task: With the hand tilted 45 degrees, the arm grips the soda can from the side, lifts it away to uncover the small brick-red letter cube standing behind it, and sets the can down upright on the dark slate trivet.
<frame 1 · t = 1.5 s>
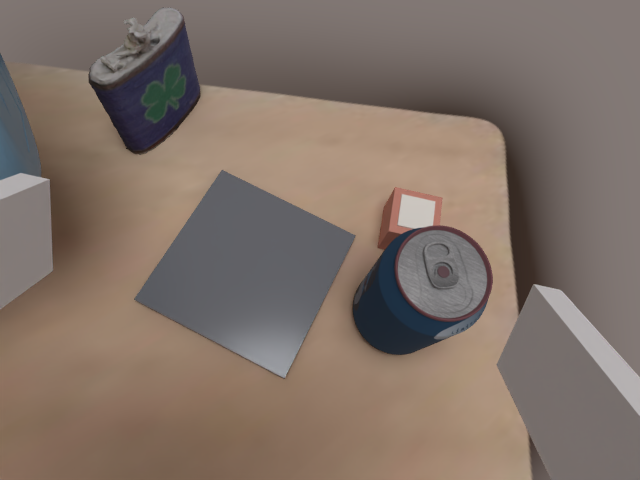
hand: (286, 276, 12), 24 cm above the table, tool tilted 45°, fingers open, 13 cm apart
flask: (166, 120, 41), on the table
soda can: (390, 313, 37), on the table
slate trivet: (251, 268, 36), on the table
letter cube: (402, 232, 39), on the table
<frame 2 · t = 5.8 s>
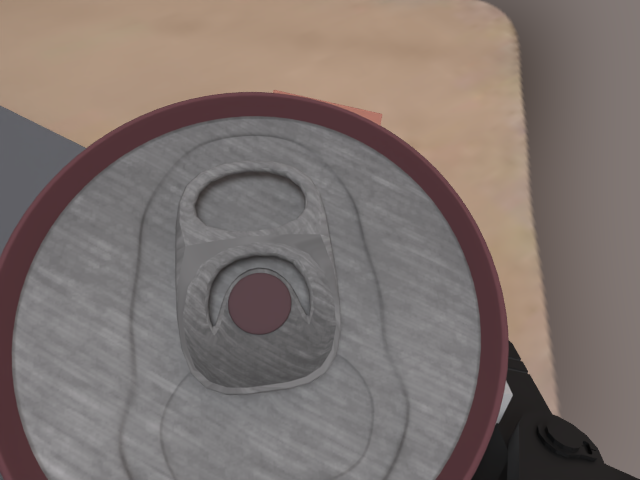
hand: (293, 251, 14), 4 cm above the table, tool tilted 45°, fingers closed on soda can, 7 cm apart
soda can: (267, 378, 16), on the table, touching gripper
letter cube: (308, 199, 19), on the table
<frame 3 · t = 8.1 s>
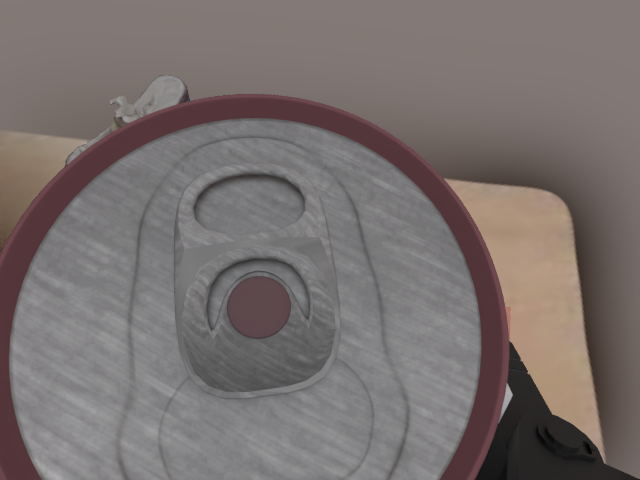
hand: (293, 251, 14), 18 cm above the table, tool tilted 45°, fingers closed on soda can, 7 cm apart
flask: (165, 198, 34), on the table
soda can: (267, 379, 16), point 14 cm above the table, touching gripper
when the fingers open (6 cm above the table, at t = 10.7 s): soda can drops 1 cm, resting on slate trivet.
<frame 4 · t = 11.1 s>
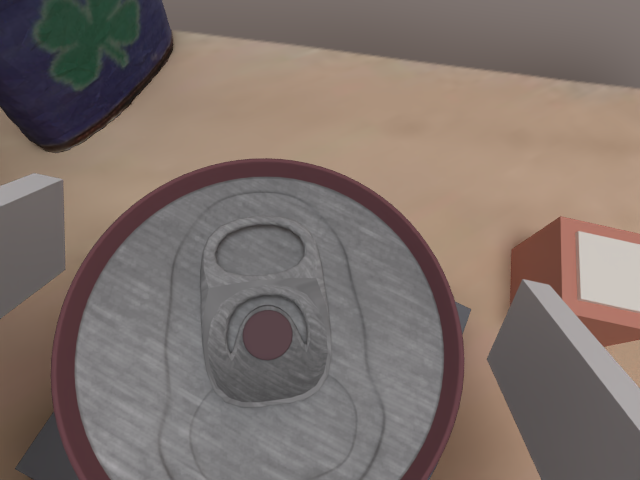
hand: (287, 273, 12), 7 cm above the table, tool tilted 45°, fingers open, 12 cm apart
flask: (110, 91, 23), on the table
soda can: (270, 383, 17), point 1 cm above the table, touching slate trivet
slate trivet: (268, 381, 18), on the table
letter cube: (550, 297, 21), on the table
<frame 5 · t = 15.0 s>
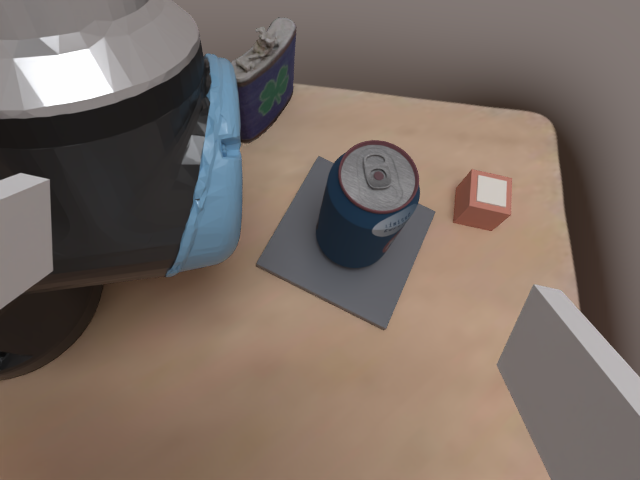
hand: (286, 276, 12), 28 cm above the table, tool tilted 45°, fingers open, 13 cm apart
flask: (265, 114, 47), on the table
soda can: (350, 238, 42), point 1 cm above the table, touching slate trivet
slate trivet: (348, 239, 43), on the table
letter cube: (473, 209, 45), on the table
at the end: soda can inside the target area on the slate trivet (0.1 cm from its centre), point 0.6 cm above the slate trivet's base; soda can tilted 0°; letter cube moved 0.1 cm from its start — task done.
